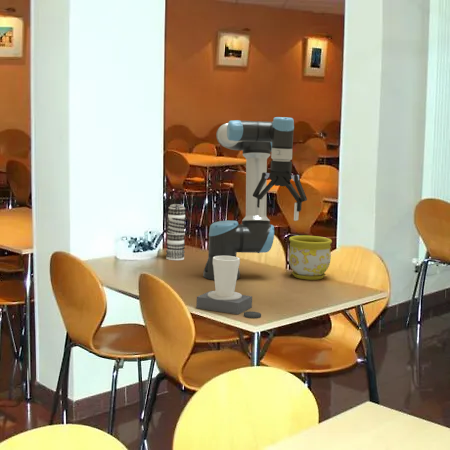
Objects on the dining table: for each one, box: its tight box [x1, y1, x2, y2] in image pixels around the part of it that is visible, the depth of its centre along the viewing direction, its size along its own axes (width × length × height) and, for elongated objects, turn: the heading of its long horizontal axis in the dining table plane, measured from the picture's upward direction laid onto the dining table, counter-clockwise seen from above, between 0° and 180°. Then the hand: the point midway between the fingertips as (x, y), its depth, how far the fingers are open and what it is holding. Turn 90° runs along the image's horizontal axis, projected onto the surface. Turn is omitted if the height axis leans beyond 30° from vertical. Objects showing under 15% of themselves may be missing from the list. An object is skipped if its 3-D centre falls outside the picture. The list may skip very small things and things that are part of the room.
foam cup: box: [213, 256, 241, 296], centre depth 289 cm, size 10×9×13 cm
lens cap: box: [243, 310, 262, 319], centre depth 281 cm, size 6×6×1 cm
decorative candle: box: [165, 203, 187, 261], centre depth 376 cm, size 9×9×25 cm
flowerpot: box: [287, 235, 333, 281], centre depth 349 cm, size 18×18×16 cm
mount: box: [196, 290, 253, 315], centre depth 291 cm, size 16×12×5 cm
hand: (278, 218), depth 300 cm, fingers open, 13 cm apart
